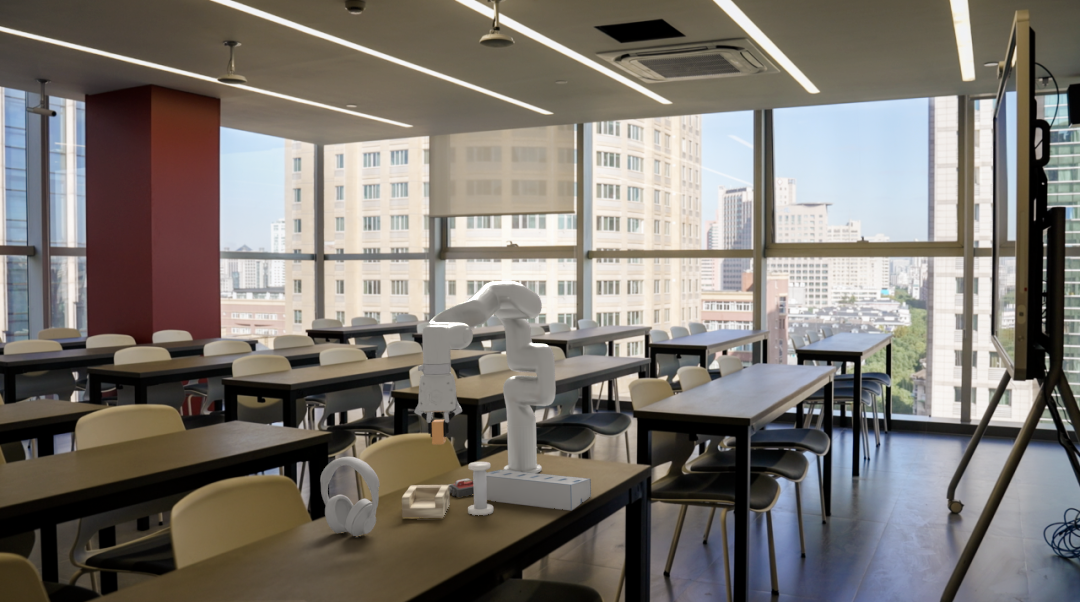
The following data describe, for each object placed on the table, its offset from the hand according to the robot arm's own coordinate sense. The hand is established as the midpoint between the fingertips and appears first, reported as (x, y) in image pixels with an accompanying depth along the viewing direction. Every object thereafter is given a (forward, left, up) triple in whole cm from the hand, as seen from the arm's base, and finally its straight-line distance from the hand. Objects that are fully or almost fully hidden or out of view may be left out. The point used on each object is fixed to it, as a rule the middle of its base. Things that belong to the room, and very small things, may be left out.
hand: (439, 435), depth 214 cm
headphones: (+18, -20, -22) cm, 34 cm away
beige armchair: (0, -4, -21) cm, 22 cm away
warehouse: (-13, +25, -22) cm, 36 cm away
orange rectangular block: (0, 0, -2) cm, 2 cm away
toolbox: (-19, +3, -22) cm, 29 cm away
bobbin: (0, +11, -21) cm, 24 cm away
